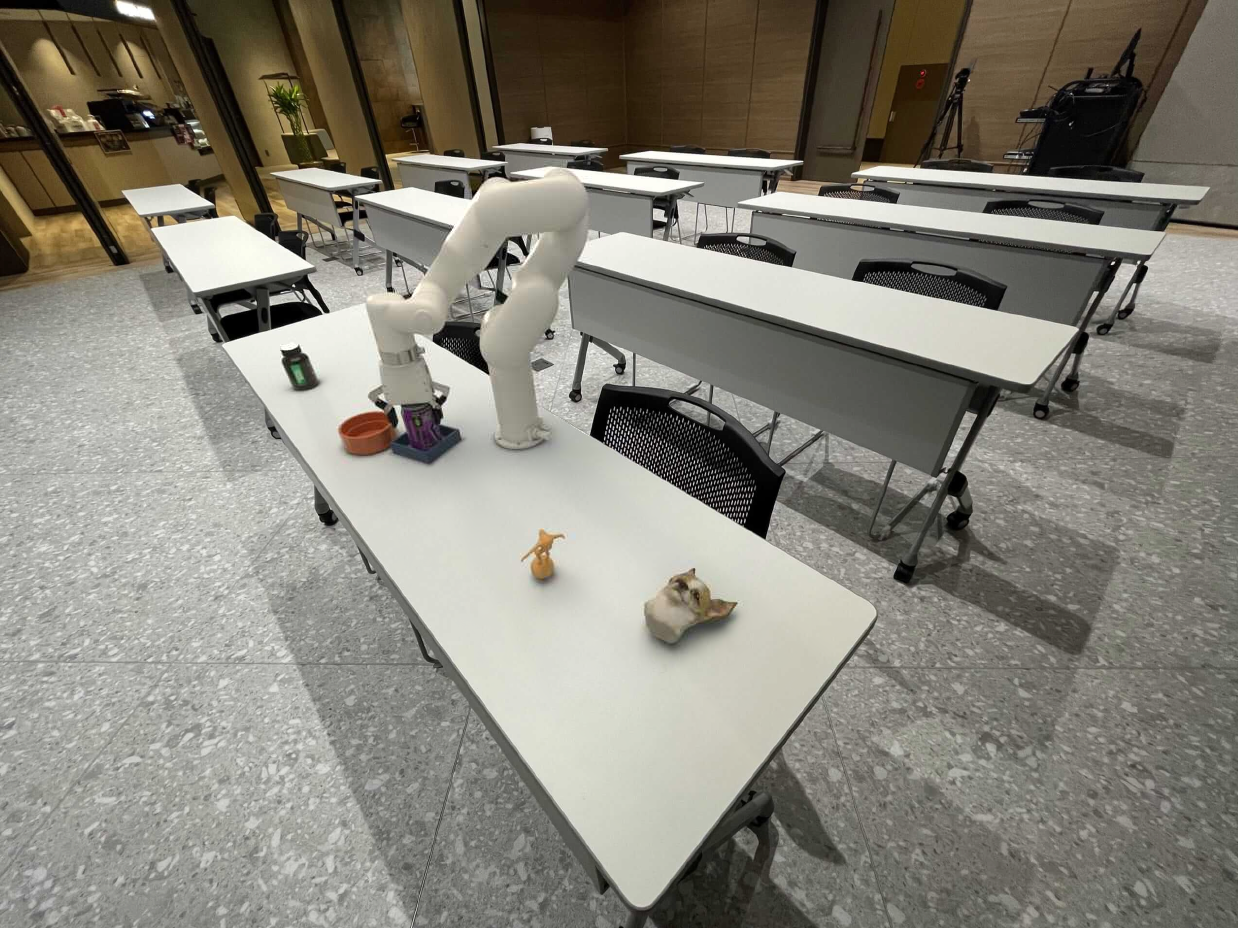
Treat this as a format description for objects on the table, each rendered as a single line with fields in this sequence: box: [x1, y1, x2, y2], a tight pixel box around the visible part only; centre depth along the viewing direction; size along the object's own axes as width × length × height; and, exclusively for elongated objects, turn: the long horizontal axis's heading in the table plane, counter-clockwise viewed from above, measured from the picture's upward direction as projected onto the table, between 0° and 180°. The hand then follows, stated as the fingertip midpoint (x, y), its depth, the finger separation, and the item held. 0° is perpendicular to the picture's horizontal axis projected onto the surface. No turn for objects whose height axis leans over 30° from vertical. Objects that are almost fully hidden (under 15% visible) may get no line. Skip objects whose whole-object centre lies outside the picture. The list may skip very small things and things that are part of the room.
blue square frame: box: [390, 423, 462, 465], centre depth 119 cm, size 11×11×3 cm
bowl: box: [337, 410, 400, 456], centre depth 121 cm, size 12×12×5 cm
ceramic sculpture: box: [643, 567, 739, 644], centre depth 77 cm, size 11×9×15 cm
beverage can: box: [400, 402, 443, 452], centre depth 117 cm, size 7×7×12 cm
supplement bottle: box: [279, 343, 319, 391], centre depth 144 cm, size 7×7×12 cm
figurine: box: [520, 528, 565, 580], centre depth 83 cm, size 8×6×12 cm
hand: (417, 423), depth 116 cm, fingers open, 9 cm apart
